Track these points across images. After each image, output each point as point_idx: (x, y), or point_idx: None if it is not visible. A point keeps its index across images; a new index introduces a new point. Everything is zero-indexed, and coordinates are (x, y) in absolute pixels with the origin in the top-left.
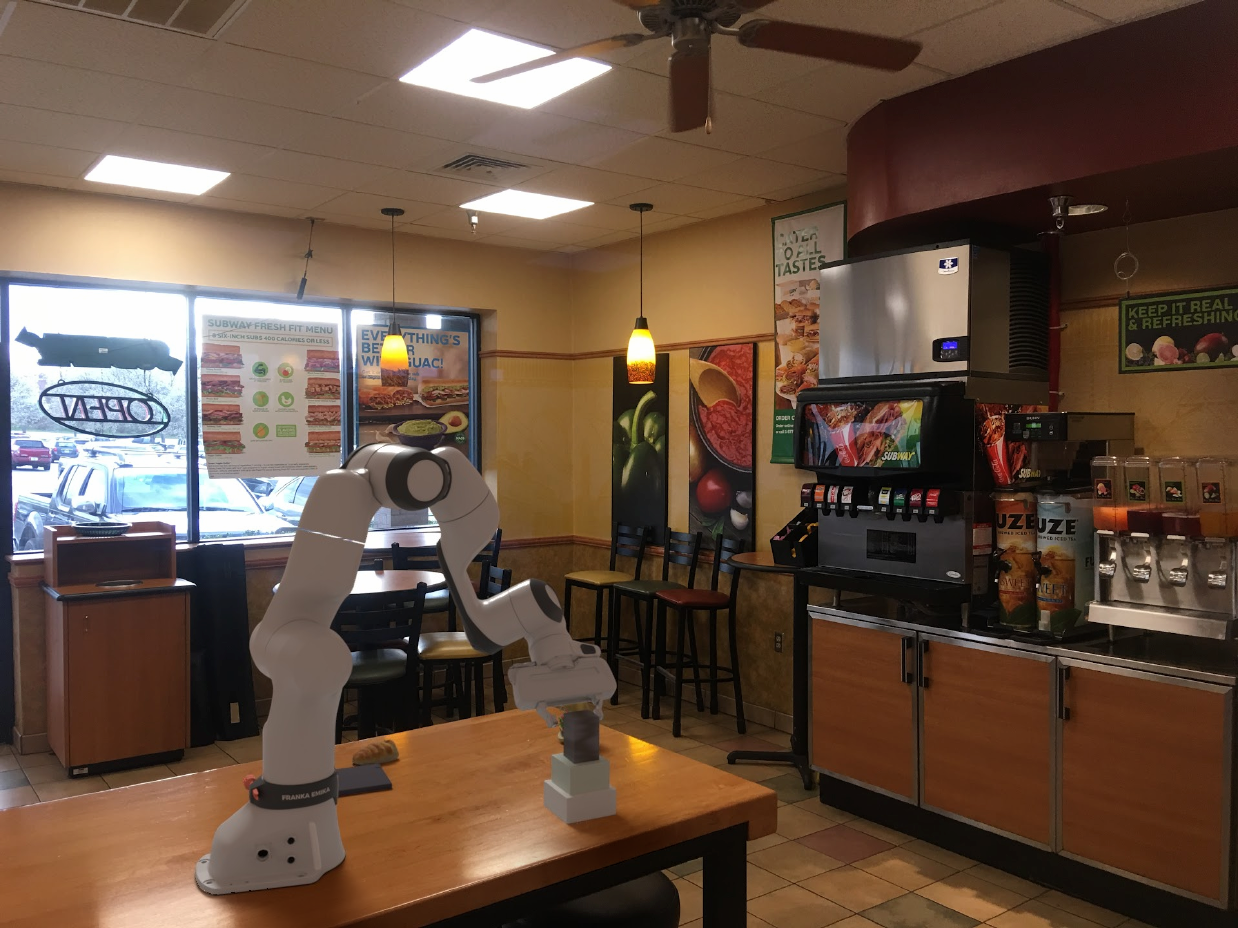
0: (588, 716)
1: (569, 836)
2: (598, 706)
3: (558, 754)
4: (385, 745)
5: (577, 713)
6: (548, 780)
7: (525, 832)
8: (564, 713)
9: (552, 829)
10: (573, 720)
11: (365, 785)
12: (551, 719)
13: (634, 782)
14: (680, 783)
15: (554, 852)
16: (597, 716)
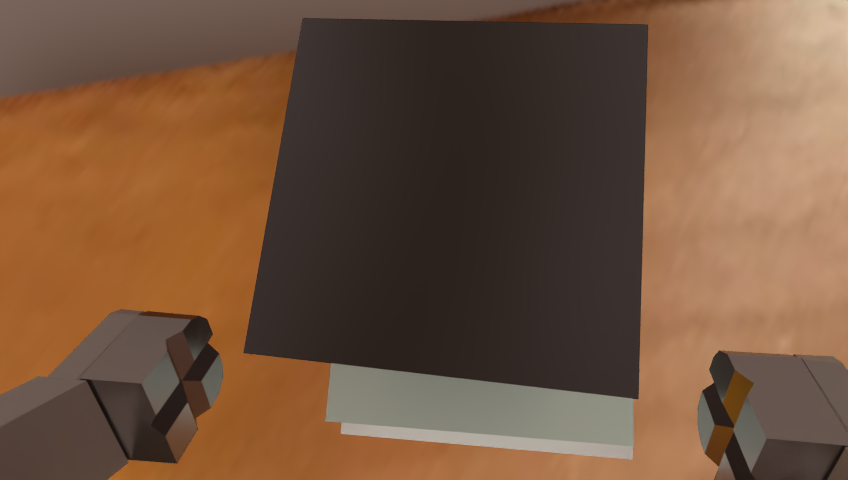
0: (411, 77)
1: (646, 104)
2: (57, 395)
3: (583, 422)
4: None
5: (467, 263)
6: (607, 446)
7: (795, 210)
8: (637, 363)
9: (679, 187)
10: (643, 56)
11: None
12: (833, 386)
13: (133, 461)
14: (6, 347)
15: (753, 13)
16: (320, 30)
